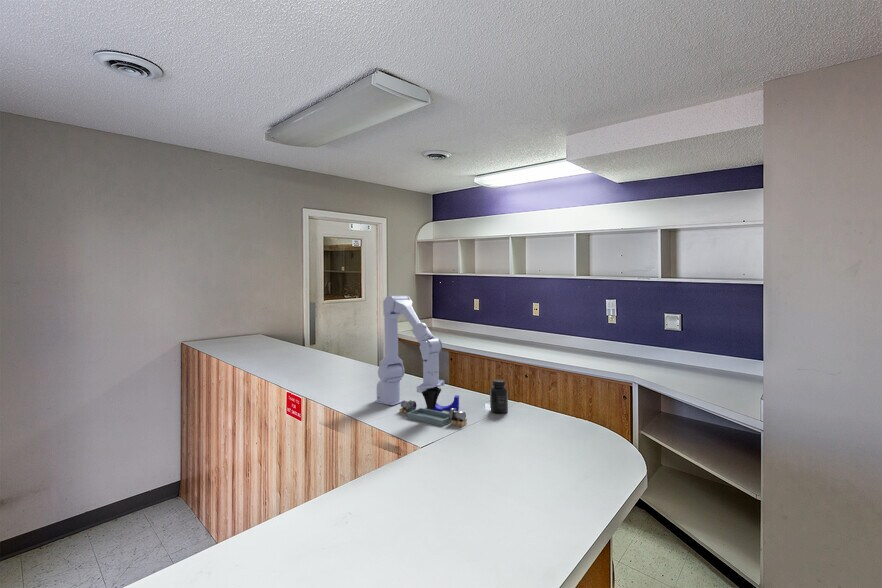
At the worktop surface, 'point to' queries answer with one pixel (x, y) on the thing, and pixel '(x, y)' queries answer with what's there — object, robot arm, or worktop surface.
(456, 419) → the shaft
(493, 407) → the supplement bottle
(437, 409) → the blue bearing cap
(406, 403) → the shaft
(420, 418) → the grey-blue rectangular tray
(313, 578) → the worktop surface
